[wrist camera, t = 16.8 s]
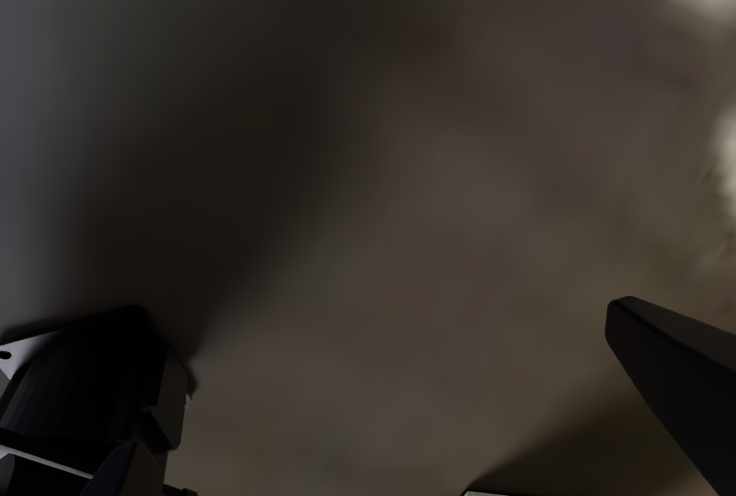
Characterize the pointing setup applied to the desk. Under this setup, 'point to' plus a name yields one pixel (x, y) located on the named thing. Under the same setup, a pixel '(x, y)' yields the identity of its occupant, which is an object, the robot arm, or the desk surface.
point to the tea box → (481, 494)
